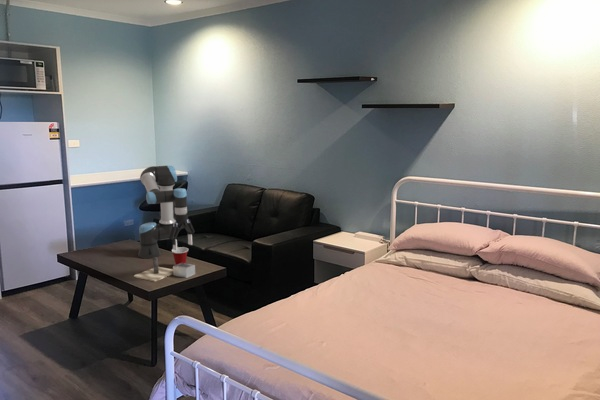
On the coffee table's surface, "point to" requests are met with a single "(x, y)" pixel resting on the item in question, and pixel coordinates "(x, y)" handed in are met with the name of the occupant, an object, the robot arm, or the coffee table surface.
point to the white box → (184, 270)
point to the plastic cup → (180, 255)
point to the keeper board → (154, 276)
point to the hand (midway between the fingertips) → (182, 247)
